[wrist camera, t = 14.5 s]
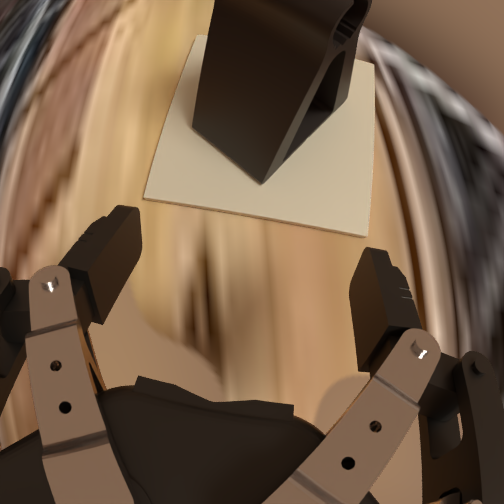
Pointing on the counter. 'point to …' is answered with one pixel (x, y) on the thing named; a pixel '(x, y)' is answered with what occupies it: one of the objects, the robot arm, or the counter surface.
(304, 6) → the phone stand
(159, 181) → the board
